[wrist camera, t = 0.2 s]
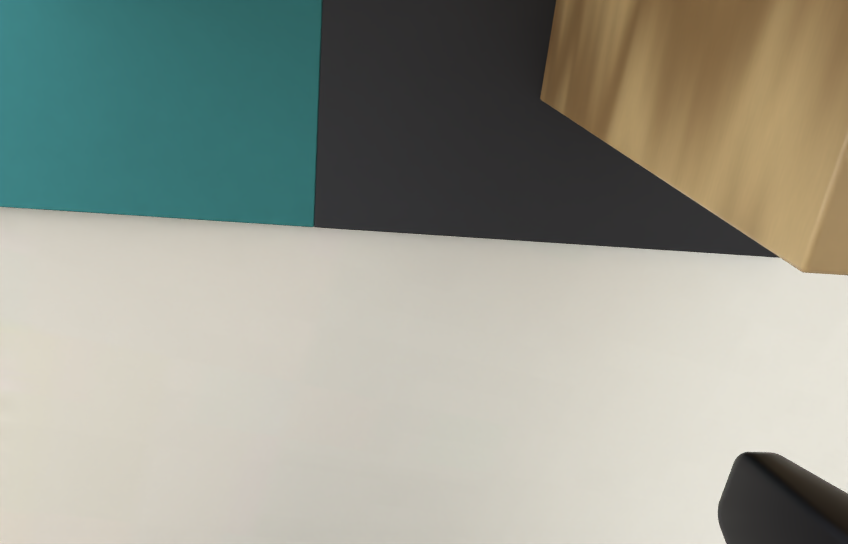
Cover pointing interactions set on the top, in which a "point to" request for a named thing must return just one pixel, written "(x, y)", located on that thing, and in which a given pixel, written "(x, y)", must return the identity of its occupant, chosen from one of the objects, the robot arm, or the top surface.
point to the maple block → (721, 108)
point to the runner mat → (320, 122)
